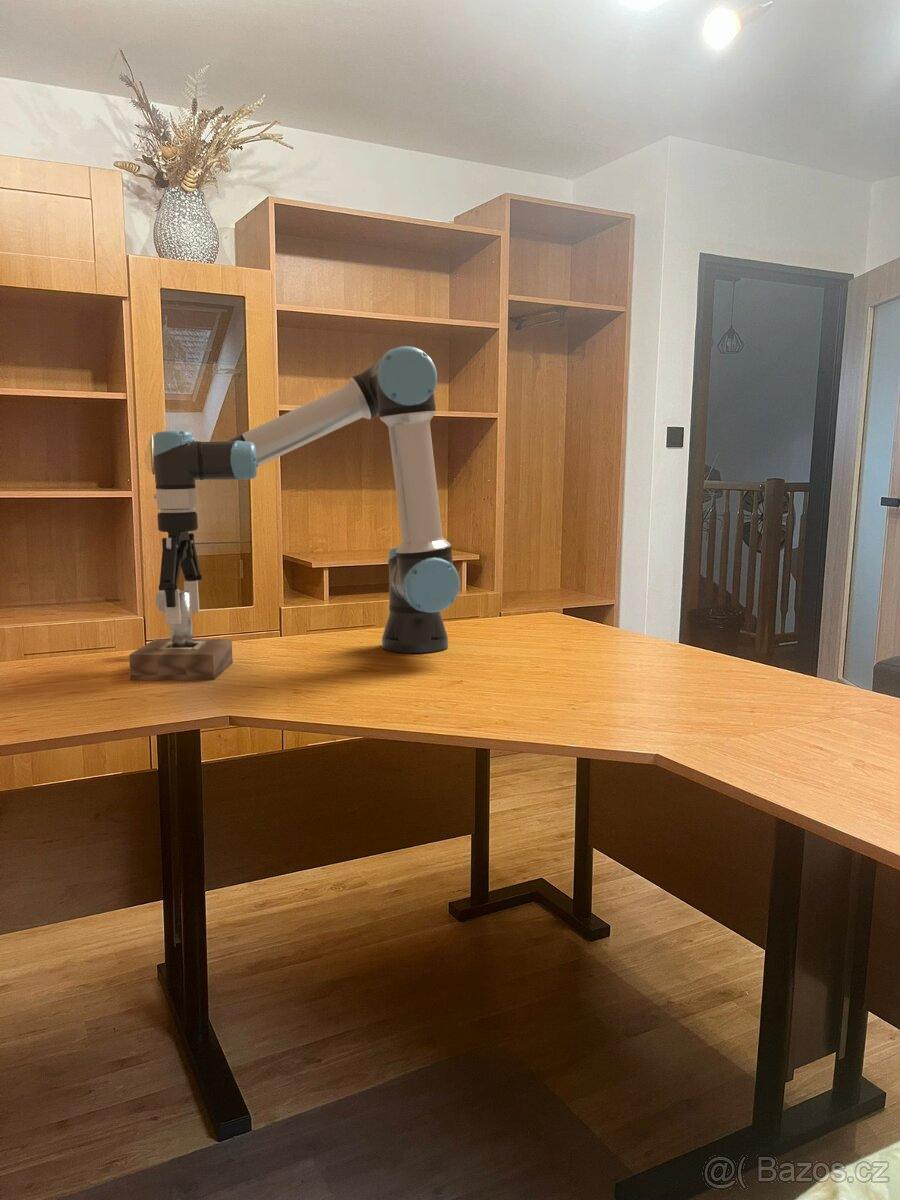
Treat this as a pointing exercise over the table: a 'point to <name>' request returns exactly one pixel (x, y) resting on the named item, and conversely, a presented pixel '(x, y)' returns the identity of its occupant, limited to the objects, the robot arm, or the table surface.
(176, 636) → the pin
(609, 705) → the table surface
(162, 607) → the lollipop
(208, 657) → the bore block
